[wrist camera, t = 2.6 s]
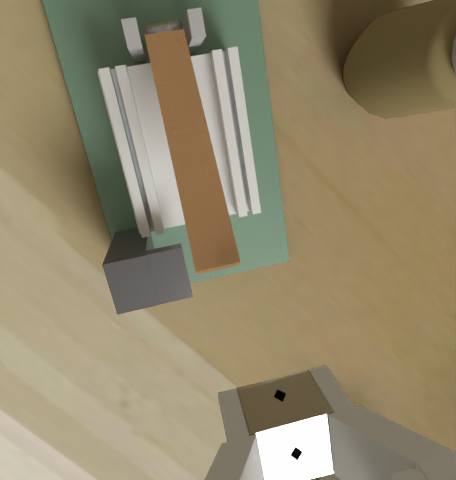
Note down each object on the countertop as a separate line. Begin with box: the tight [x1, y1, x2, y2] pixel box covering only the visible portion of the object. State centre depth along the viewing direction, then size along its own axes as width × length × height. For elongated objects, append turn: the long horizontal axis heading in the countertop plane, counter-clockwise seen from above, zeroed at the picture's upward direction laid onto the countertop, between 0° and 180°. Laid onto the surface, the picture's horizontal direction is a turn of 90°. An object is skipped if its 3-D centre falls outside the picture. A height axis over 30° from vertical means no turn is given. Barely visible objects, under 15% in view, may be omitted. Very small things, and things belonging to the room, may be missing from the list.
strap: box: [143, 20, 240, 275], centre depth 24 cm, size 17×3×1 cm
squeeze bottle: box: [343, 0, 456, 119], centre depth 26 cm, size 8×8×18 cm
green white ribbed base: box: [42, 0, 290, 283], centre depth 30 cm, size 26×16×8 cm, turn 10°
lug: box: [103, 228, 193, 314], centre depth 31 cm, size 4×6×8 cm
